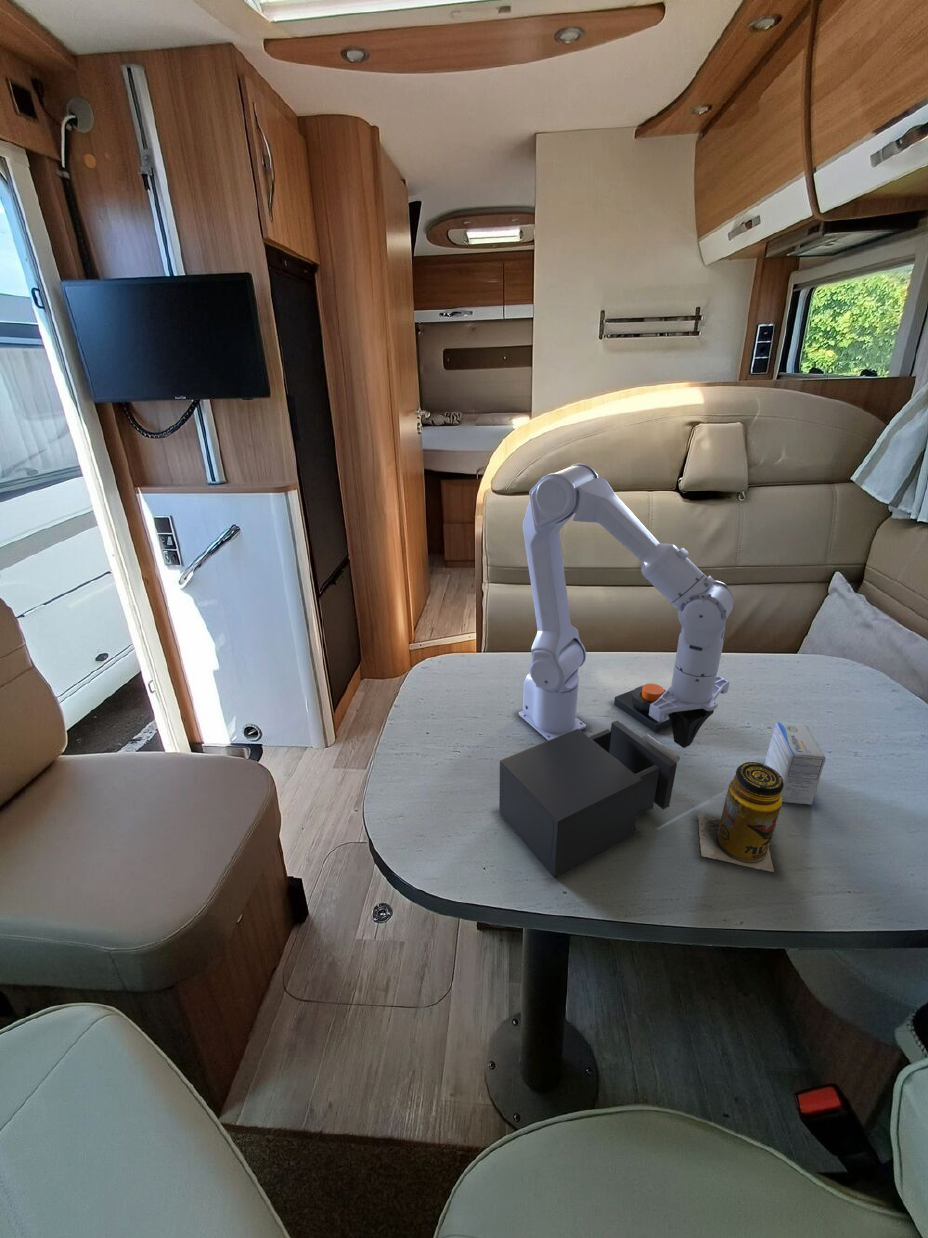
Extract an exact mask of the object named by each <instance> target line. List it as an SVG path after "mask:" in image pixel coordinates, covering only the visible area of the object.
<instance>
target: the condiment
mask: <svg viewBox="0 0 928 1238" xmlns="http://www.w3.org/2000/svg"><path fill="white" fill-rule="evenodd" d="M735 770H736V771H735V775H734V776H733V779H732V780H731V781H730V783H729V784H728V788H727V792H726V796H725V800H724V805H723V809H722V812H721V816H720V817H721V818H717V817H711V816H709V815H704V814H697V818H698V819H697V821H698V833H699V845H700V846H699V847H700V855H701V857H703V858H709V859H713V860H719V861H722V862H728V863H732V864H736V865H739V866H743V867H749V868H752V869H756V870H762V871H766V872H771V873H772V872H775V869H774V865H773V861H772V857H771V852H770V844H771V843H772V838H773V835H774V832H775V828H776V826H777V821H778V818H779V815H780V812H781V809H782V804H783V802H782V798H781V793H782V789H783V787H784V783H783V779H782V777H781V776H780V775H779V773H778V772H777V771H775V770H774V769H772V768H771V767H769V766H767V765H765V763H760V762H757V761H756V762H755V761H747V762H744V763H742V764H740V765H739V766H738V767H737V768H736V769H735Z"/></svg>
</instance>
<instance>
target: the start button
mask: <svg viewBox="0 0 928 1238" xmlns="http://www.w3.org/2000/svg"><path fill="white" fill-rule="evenodd" d="M664 690H665V688H663V687H662V686H661V685H660V684H657V683H645V684H644V686H643V689H642V698H644V699H645V700H647V701H651V702H656V701H657V700H658V699H659V698H660V697H661V696H662V695H663V693H664Z"/></svg>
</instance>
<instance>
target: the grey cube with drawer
mask: <svg viewBox="0 0 928 1238" xmlns="http://www.w3.org/2000/svg"><path fill="white" fill-rule="evenodd" d="M589 737H590V736H588V735H587V734H585V733H584V732H583V731H582V730H579V729H576V730H573V731H571V732H568V733H566V734H563V735H561V736H559V737H556V738H554V739H551V740H549V741H548V740H546V741H544V742H541V743H540V744H539V743H538V744H537V745H534V746H531V747H529V748H527V749H524V750H521V751H520V752H517V753H514V754H512V755H510V756H508V757H505V758H502V759H500V760H499V799H498V800H499V807H498V809H499V815H500V816H501V817H502V819H504V821H505V822H506V823H507V824H508V825H509V827H510V828H511V829H512V830H513V832H515V834H516V835H517V836H518V837H519V838H520V840H521V842H522V843H524V845H525V846H526V847H527V848H528V849H529V850H530V851H531V853H532V854H533V855H534V856H535V857H536V859H537V860H538V861H539V862H540V864H541V865H542V866H543V867H544V868H545V869H546V870H547V872H548V873H549V874H550V875H551V876H552V877H553V878H554V879H555V878H557V877H559V876H561V875H563V874H565V873H566V872H568V871H570V870H572V869H574V868H576V867H577V866H579V865H581V864H583V863H585V862H587V861H589V860H590V859H592V858H594V857H596V856H598V855H600V854H601V853H603V852H605V851H607V850H609V849H611V848H612V847H614V846H616V845H618V844H620V843H622V842H623V841H625V840H627V839H628V838H631V837H633V836H634V835H635V831H636V824H637V819H638V817H637V813H638V806H639V800H640V793H641V786H642V785H641V784H642V779H641V778H639V777H638V776H637V775H636V774H634V773H633V772H632V771H631V770H629V769H628V768H627V767H626V766H624V765H623V764H622V763H621V762H619V761H618V760H617V759H616V758H614V757H613V756H612V755H611V754H609V753H608V752H607V751H605V750H604V749H603V748H602V747H600V746H599V745H598V744H597V743H595V742H594V741H593V740H592V739H590V738H589Z"/></svg>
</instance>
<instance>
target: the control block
mask: <svg viewBox="0 0 928 1238" xmlns="http://www.w3.org/2000/svg"><path fill="white" fill-rule="evenodd" d="M644 685H645V684H644ZM644 685H643V684H642V685H640V686H637V687H635V688H634V689H631V690H629V691H626V692H624V693H622V694H621V693H620V694H618V695H615V697H614V701H613V705H614V706H616V707H617V708H619V709H620V710H621V711H623V712H624V713H626V714H627V715H628V716H630V717H631V718H633V719H635V720H636V721H637V722H639V723H640V724H641V725H643V726H645V727H646V728H647V729H649V730H650V731H652V732H653V733H655V734H656V733H658V732H660V731H663V730H665V729H667V728H669V727H672V726H671V722H670V719H669V716H668V715H666V716H664V720H663V721H661V722H658V721H657V720H655V719H654V718H652V717H651V716H649V710H650V704H652V703H654V702H651V701H647V700H645V699H644V698H642V689H643V686H644ZM666 690H667V689H664V692H665V691H666Z"/></svg>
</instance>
